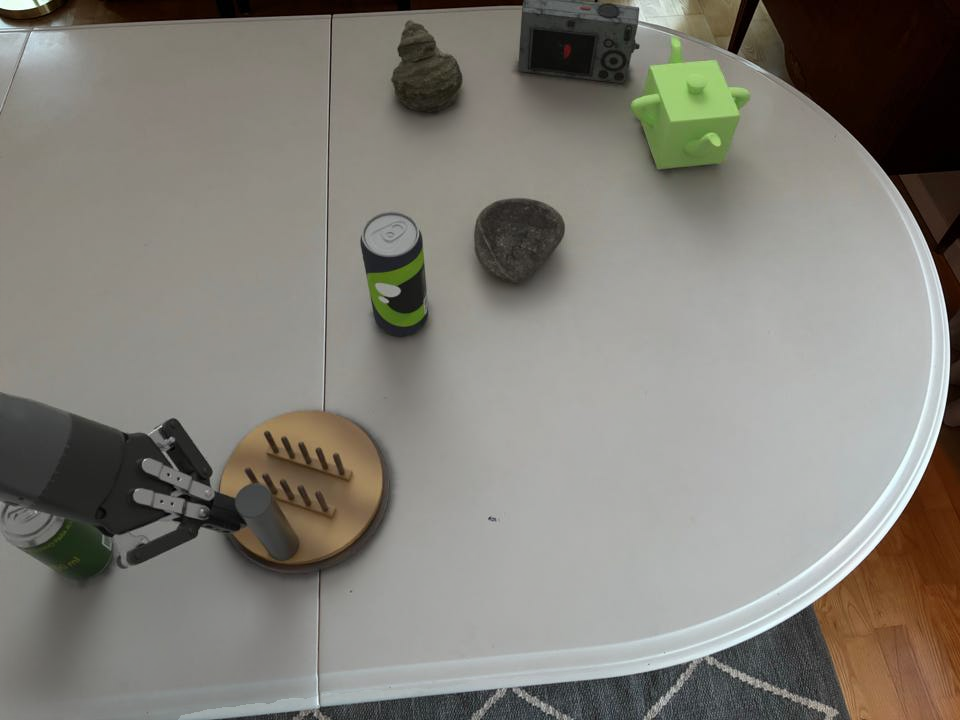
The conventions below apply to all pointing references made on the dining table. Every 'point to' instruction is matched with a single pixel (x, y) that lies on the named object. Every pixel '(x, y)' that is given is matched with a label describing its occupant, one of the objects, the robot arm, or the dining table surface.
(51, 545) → the beer can
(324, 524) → the dish rack
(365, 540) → the base
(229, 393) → the dining table surface
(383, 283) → the beverage can
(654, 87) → the teapot
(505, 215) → the stone
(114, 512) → the robot arm
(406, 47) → the seashell
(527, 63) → the camera
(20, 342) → the dining table surface
